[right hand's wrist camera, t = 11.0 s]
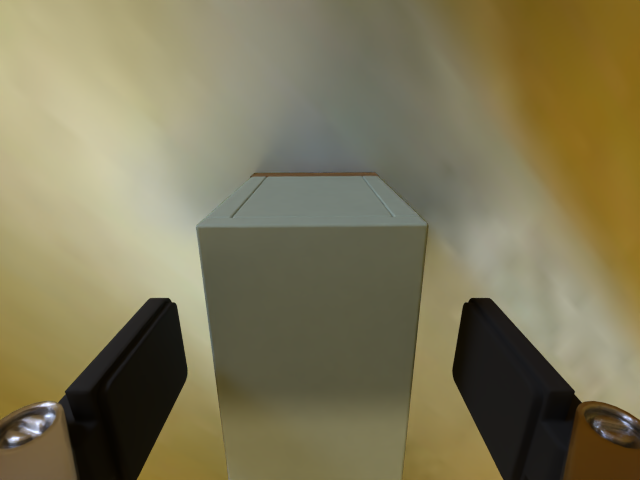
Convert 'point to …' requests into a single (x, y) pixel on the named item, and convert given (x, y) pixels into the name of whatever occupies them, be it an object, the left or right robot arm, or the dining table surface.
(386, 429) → the cabinet
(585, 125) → the dining table surface
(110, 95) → the dining table surface
